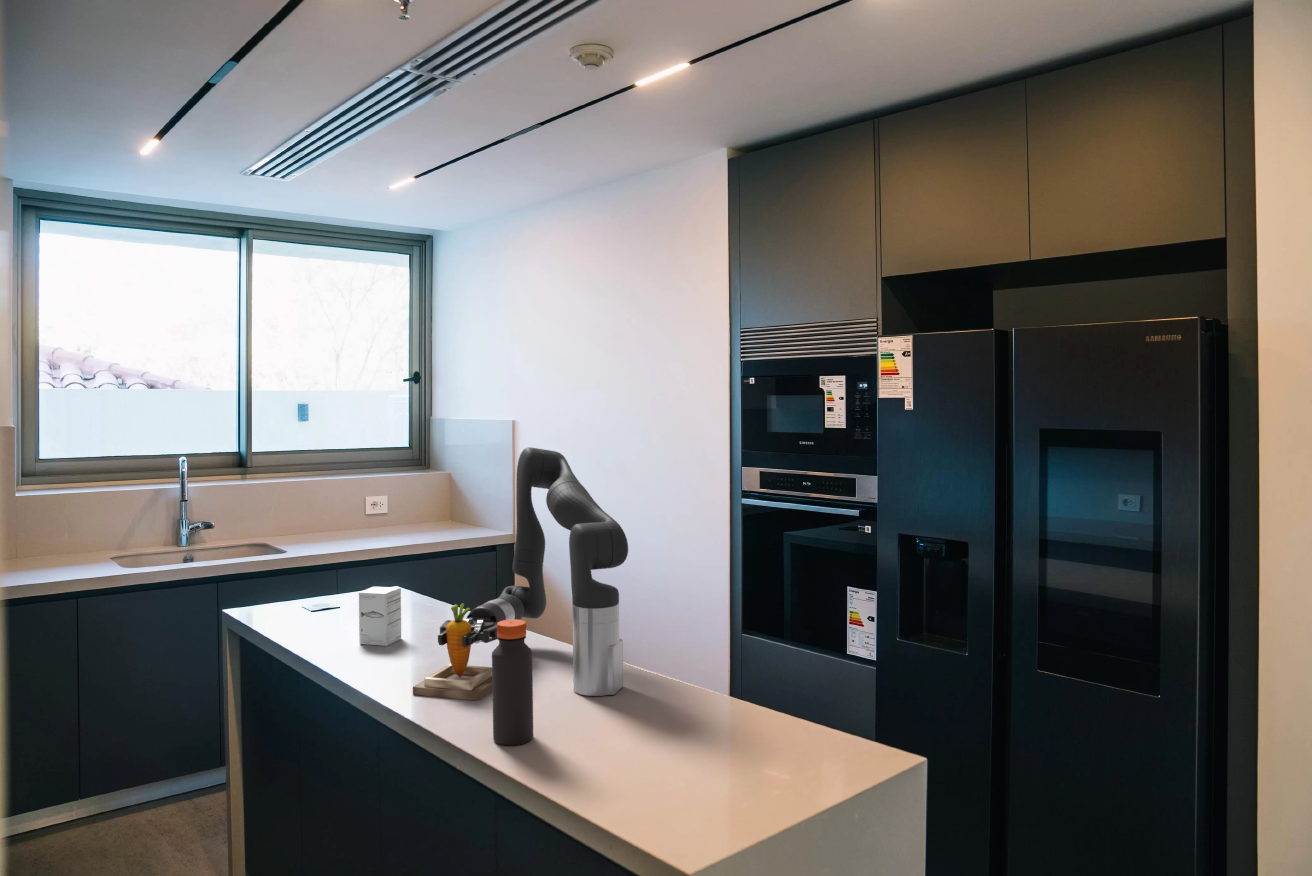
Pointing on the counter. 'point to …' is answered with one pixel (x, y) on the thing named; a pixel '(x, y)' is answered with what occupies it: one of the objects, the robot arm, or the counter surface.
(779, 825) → the counter surface
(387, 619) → the supplement box
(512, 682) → the bottle
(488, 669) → the beige wooden tray
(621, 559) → the robot arm
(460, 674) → the carrot
